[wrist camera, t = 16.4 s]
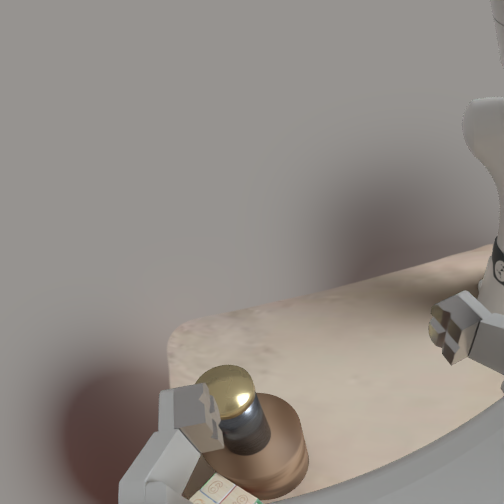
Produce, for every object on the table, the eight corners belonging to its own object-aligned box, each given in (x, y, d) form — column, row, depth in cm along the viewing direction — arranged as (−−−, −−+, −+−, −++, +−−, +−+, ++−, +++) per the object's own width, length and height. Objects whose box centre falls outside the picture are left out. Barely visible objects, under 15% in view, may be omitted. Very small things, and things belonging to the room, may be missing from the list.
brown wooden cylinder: (296, 419, 43) (287, 382, 38) (318, 486, 32) (313, 462, 27) (219, 438, 42) (196, 405, 37) (230, 507, 32) (204, 487, 27)
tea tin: (266, 410, 35) (246, 358, 30) (277, 449, 30) (258, 404, 25) (220, 421, 35) (191, 373, 30) (227, 461, 30) (195, 419, 25)
